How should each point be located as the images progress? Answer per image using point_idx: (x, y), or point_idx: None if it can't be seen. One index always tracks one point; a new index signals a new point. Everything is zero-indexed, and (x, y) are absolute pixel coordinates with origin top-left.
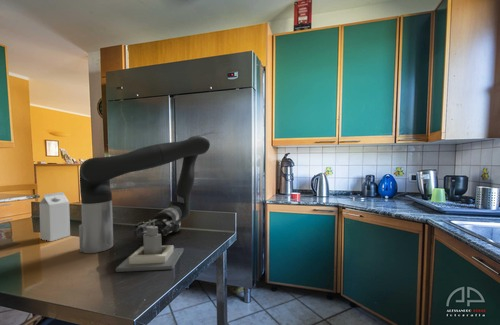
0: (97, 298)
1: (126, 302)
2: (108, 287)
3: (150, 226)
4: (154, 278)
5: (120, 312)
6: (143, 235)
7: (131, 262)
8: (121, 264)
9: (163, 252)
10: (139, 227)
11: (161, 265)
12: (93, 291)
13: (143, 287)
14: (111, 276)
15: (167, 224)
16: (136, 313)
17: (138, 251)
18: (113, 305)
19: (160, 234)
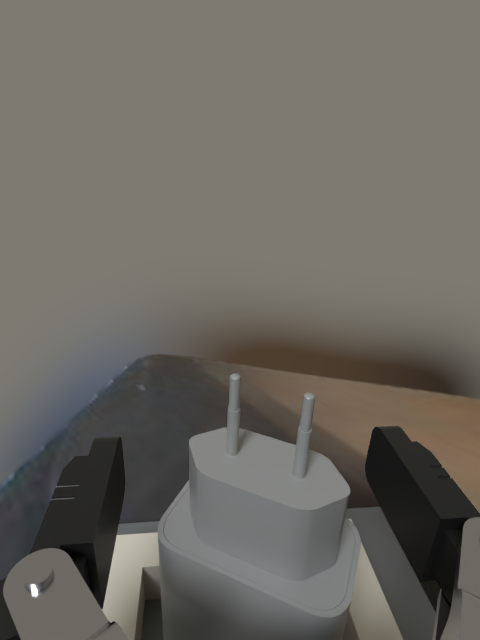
0: (282, 393)
1: (188, 381)
2: (295, 428)
3: (293, 471)
4: (145, 469)
5: (184, 362)
6: (345, 520)
7: None
8: (391, 546)
9: (134, 597)
10: (440, 492)
11: (131, 532)
12: (326, 414)
13: (168, 425)
14: (355, 485)
15: (80, 600)
16: (145, 359)
17: (373, 625)
18: (216, 375)
19: (164, 530)
